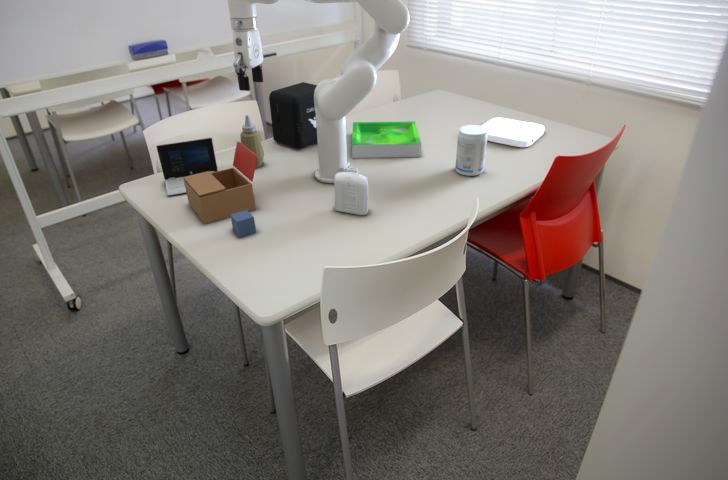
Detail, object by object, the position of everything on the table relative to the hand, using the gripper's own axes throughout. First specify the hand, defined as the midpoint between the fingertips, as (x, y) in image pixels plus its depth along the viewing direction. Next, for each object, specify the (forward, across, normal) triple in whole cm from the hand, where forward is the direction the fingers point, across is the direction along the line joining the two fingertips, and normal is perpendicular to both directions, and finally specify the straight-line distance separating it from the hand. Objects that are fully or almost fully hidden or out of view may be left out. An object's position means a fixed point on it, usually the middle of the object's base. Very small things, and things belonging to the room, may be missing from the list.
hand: (251, 86), depth 153 cm
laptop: (+32, -7, +22) cm, 40 cm away
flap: (+19, -13, -1) cm, 23 cm away
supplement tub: (+31, +24, -66) cm, 77 cm away
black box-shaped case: (+32, +40, -1) cm, 51 cm away
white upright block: (+32, -13, -34) cm, 49 cm away
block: (+32, -32, -8) cm, 45 cm away
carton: (+32, -19, +5) cm, 38 cm away
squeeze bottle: (+32, +13, +9) cm, 36 cm away
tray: (+31, +42, -33) cm, 62 cm away
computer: (+31, +63, -79) cm, 106 cm away
